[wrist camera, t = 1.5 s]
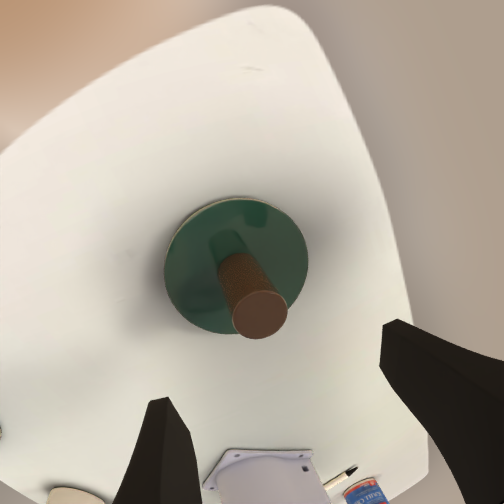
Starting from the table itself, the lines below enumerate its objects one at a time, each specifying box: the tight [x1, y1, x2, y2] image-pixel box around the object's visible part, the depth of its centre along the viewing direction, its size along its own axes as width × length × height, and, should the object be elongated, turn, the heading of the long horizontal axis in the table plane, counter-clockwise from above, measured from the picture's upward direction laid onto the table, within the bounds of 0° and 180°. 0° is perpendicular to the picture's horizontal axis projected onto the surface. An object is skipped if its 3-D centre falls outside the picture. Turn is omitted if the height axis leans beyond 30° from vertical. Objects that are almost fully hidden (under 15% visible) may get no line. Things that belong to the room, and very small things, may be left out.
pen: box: [323, 467, 358, 491], centre depth 32 cm, size 1×19×1 cm
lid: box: [164, 198, 308, 339], centre depth 16 cm, size 8×8×6 cm
